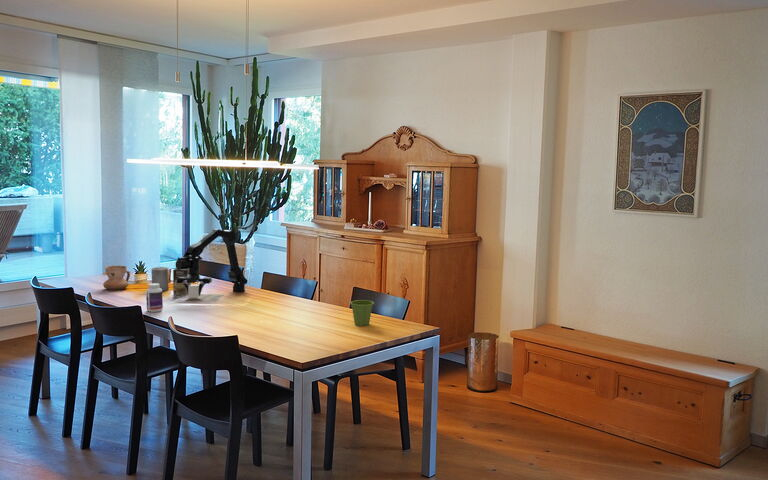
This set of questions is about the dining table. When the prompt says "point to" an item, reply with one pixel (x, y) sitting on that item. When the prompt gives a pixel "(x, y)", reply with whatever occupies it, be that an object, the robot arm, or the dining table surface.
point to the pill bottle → (154, 298)
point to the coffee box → (178, 287)
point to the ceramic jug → (116, 277)
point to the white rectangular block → (193, 291)
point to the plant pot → (361, 311)
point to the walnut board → (206, 297)
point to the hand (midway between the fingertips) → (194, 295)
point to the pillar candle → (160, 277)
